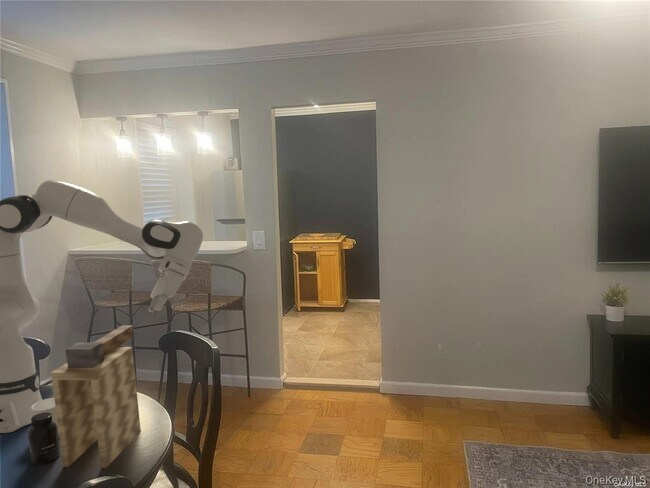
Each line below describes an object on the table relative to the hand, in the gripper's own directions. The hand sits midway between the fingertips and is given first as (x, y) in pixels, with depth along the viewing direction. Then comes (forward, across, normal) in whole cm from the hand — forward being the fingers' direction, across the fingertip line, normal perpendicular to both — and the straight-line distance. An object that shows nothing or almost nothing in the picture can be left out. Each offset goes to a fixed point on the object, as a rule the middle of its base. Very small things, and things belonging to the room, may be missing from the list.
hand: (154, 310), depth 144 cm
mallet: (+15, +2, -7) cm, 17 cm away
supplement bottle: (+46, -5, -8) cm, 47 cm away
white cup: (+43, -17, -8) cm, 47 cm away
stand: (+39, 0, +4) cm, 40 cm away
